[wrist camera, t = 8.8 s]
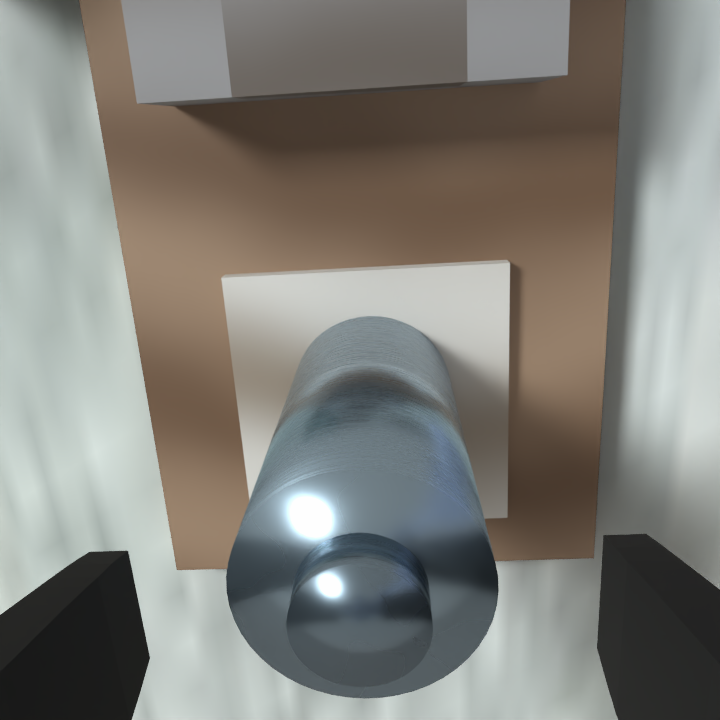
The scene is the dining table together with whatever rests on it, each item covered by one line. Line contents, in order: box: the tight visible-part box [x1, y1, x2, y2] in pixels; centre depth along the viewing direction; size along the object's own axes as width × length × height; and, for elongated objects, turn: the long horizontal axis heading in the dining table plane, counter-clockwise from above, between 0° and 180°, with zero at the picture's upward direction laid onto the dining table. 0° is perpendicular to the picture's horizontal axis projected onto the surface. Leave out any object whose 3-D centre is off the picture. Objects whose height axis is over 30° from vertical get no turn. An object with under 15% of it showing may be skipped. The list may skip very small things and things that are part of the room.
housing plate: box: [79, 0, 626, 570], centre depth 16 cm, size 22×12×4 cm, turn 3°
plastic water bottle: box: [226, 316, 498, 698], centre depth 14 cm, size 4×4×9 cm
